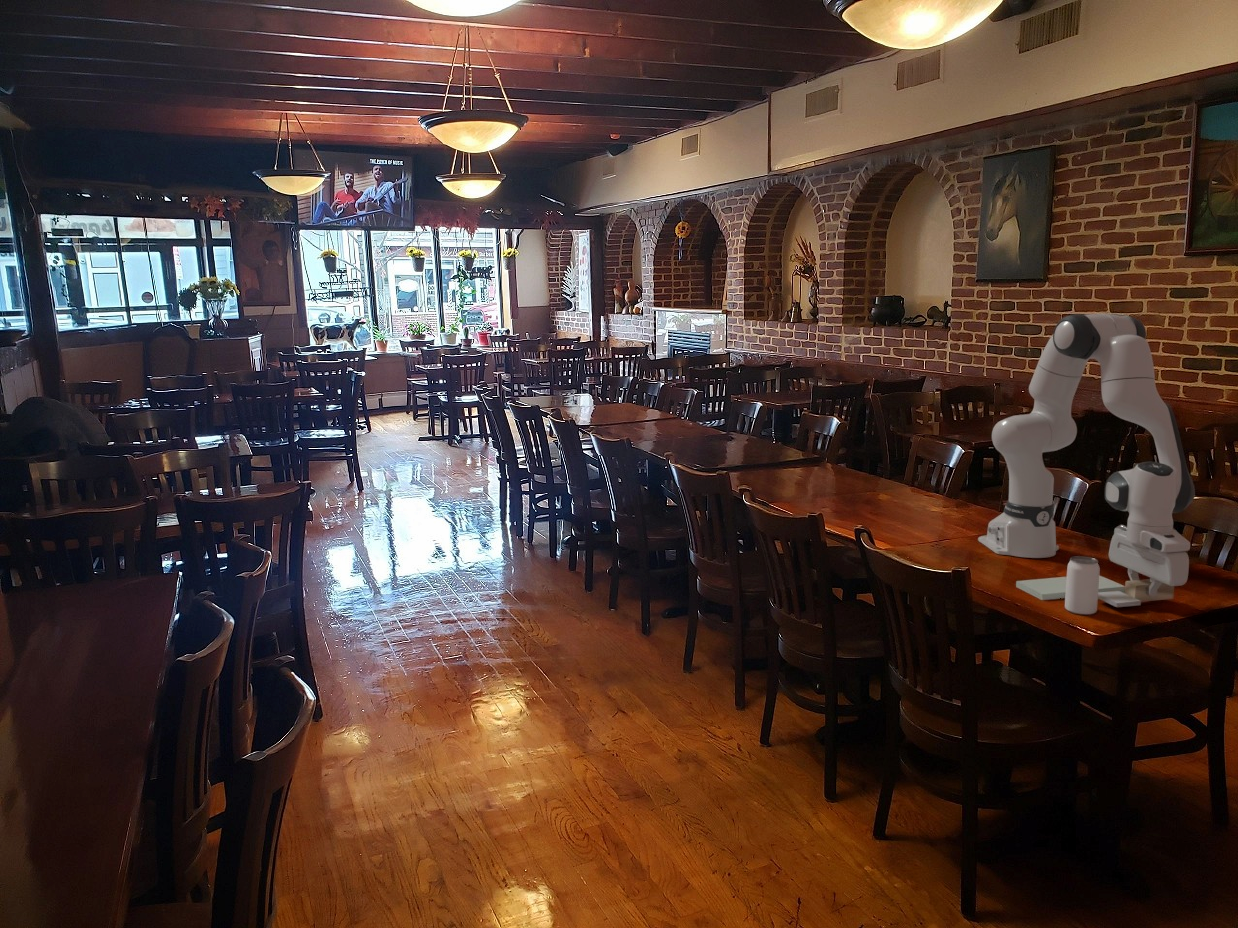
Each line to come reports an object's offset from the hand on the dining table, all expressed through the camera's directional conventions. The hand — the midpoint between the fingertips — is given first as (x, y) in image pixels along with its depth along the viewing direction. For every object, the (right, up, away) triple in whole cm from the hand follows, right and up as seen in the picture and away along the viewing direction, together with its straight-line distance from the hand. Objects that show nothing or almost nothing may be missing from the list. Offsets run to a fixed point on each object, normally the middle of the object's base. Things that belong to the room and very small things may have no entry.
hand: (1143, 591), depth 199 cm
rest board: (-11, -1, +11) cm, 16 cm away
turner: (-1, -2, 0) cm, 2 cm away
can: (-16, -4, -2) cm, 17 cm away
